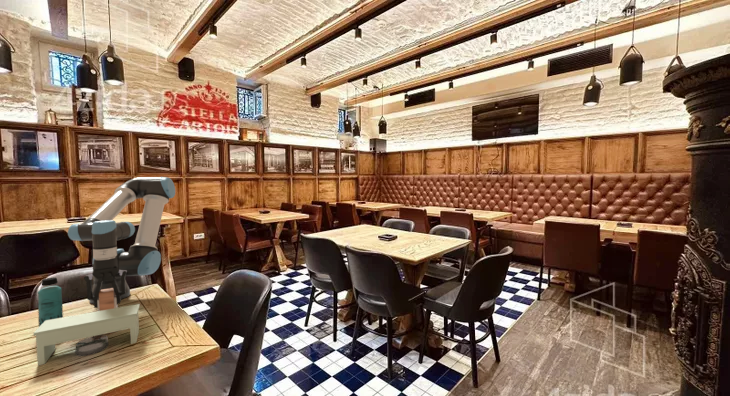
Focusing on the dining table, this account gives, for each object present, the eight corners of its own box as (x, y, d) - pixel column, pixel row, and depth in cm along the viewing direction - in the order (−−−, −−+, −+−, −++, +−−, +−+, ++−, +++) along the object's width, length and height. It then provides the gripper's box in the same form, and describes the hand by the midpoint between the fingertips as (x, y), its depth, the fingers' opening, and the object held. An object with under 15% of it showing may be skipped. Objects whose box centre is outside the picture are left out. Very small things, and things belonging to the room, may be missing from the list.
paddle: (102, 313, 125) (101, 289, 124) (116, 310, 127) (114, 287, 127) (89, 336, 106) (88, 308, 106) (106, 332, 108) (104, 305, 108)
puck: (79, 347, 101) (78, 339, 101) (110, 341, 105) (109, 332, 105) (72, 359, 94) (72, 350, 94) (105, 351, 99) (105, 342, 99)
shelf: (47, 350, 99) (45, 320, 99) (140, 330, 113) (139, 303, 112) (35, 366, 91) (33, 333, 90) (138, 342, 104) (136, 313, 104)
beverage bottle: (39, 330, 113) (36, 278, 112) (63, 324, 118) (61, 274, 117) (38, 336, 108) (35, 282, 108) (64, 329, 113) (61, 278, 112)
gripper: (73, 263, 115) (77, 322, 116) (131, 256, 125) (133, 311, 126) (79, 259, 122) (82, 315, 123) (133, 253, 131) (135, 305, 132)
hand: (108, 313), depth 124 cm, fingers closed on paddle, 4 cm apart
